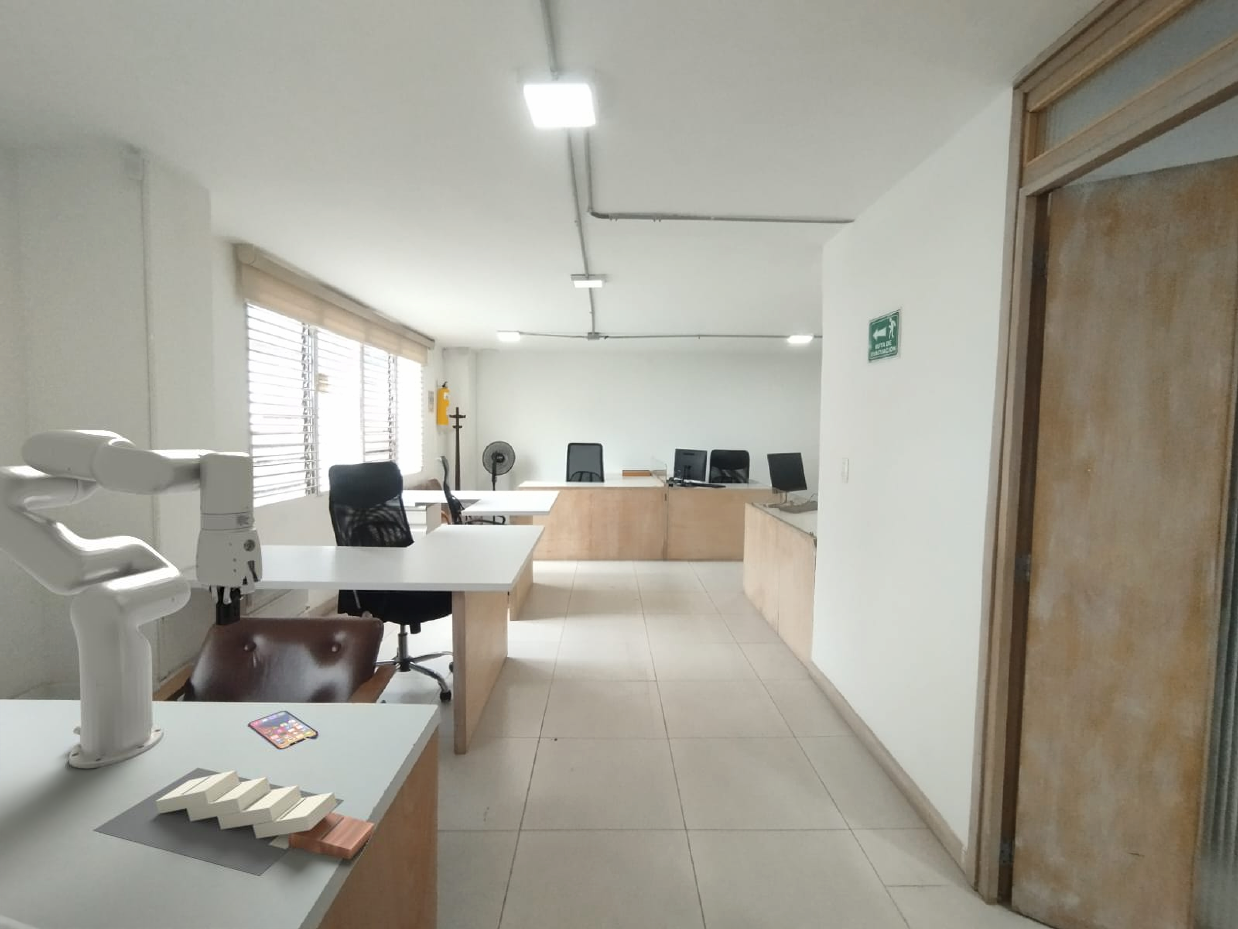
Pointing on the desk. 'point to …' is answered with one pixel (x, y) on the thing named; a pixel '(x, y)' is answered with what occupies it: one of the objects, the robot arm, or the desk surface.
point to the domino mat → (199, 832)
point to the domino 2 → (231, 800)
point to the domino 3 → (263, 808)
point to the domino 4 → (298, 816)
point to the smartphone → (282, 729)
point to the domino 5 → (334, 836)
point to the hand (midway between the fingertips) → (228, 623)
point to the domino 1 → (197, 792)
